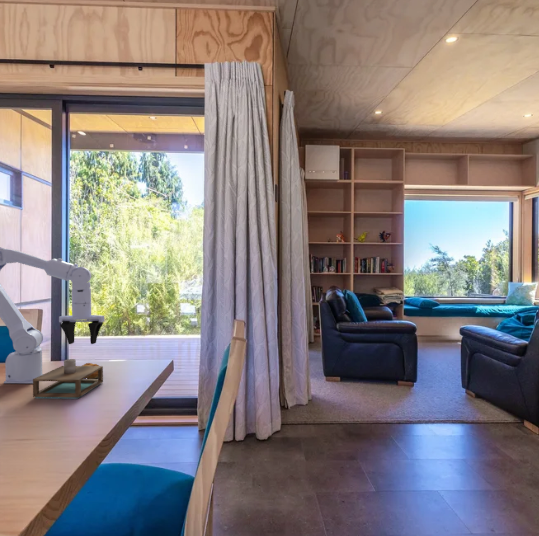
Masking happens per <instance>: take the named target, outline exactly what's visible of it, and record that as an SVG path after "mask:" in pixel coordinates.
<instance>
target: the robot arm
mask: <svg viewBox="0 0 539 536" xmlns="http://www.w3.org/2000/svg"><path fill="white" fill-rule="evenodd" d="M16 263H18V264H21V265H25V266H29V267H33V268H36V269H40V270H44V271H45V273H46V275H47V276H49V277H54V278H56V279H60V280H63V281H66V282H69V281H71V288H72V289H71V315H61V316H58V322H59V323H60V325H59V326H60V328H61V330H62V331H63V333H64V334H65V337H66V339H67V343H68V345H72V344H74V343H75V328H76V324H77V323H88V324H87V325H88V328H89V335H90V337H89V340H90V345H95V344H96V343H97V340H98V335H99V333H100V330H101V328H102V326H103V325H104V322H105V315H97V314H92V289H91V279H92V273H91V272H92V271H91V270H90V269H88V267H85V266H79V264H78V263H74V264H73V263H70V262H66V261H64V259H63V258H52V259H49V260H46V259H44V258H41V257H38V256H36V255H33V254H32V255H31V254H29V253H27V252H23V251H20V250H17V249H15V250H14V249H10V248H4V247H0V272H1V270H2V269H3V268H4V267H5V266H6V265H7V264H16ZM0 319H1V320H2V322H3V323H4V325H5V326H6V327H7V329H8V334H9V337H10V339H11V341H12V347H13V350H15V351H14V352H13V351H12V352H10V353H9V354H8V355H7V357H6V358H5V362H4V363H5V366H4V367H5V381H3V384H33V379H34V378H37V377H39V376H41V375H43V374H44V373H43V348H42V347H41V344H42V343H43V341H44V335H43V333H42V332H41V330H38V329H36V328H35V327H34V326H33V324H32V323H31V322H29V321H28V320H26V318H25V317H24V316H23V314H22V313H21V311H20V310H19V308H18V307H17V306H16V304H15V303H14V301H13V299H12V298H11V297H10V295H9V294H8V292H7V291H6V290H5V288H4V287H3V285H2V284H1V283H0Z"/></svg>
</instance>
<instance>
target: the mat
mask: <svg viewBox="0 0 539 536" xmlns="http://www.w3.org/2000/svg"><path fill="white" fill-rule="evenodd" d="M91 384H93V383H81V391H82V390H83V389H85V388H87V387H88V386H90V385H91ZM98 386H99V385H97V386H96V387H98ZM96 387H94V388H93V389H95V388H96ZM93 389H91V390H90V391H92V390H93ZM90 391H88V392H87V393H89V392H90ZM45 393H75V383H62V384H60V385H58V386H56V387H54V388H52V389H51V390H49V391H47V392H45ZM87 393H85V394H87ZM85 394H84V395H85ZM81 397H82V396H80V397H34V399H55V400H57V399H60V400H61V399H62V400H63V399H64V400H65V399H66V400H67V399H68V400H69V399H73V400H76V399H77V400H78V399H79V398H81Z"/></svg>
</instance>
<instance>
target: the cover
mask: <svg viewBox="0 0 539 536" xmlns="http://www.w3.org/2000/svg"><path fill="white" fill-rule="evenodd" d="M96 371H98V377H97V378H95V379H84V378H86V377H88V376H89V375H91V374H93V373H95V372H96ZM42 374H43V375H41V376H39V377H37V378H34V379H33V383H32V397H33V398H35V397H79V398H81V397H82V396H84V395H85V393H86V394H87V393H89V392H90V391H92V390H93V389H95V388H96V387H98V386H99V385H100V384H102V383H103V382H104V366H103V365H99V366H82V365H77V363H76V358H69V359H64V361H63V365H61V366H58V367H57V368H54V369H52V370H50V371H48V372H46V373H42ZM40 382H54V383H52V384H50V385H47V386H46V387H44V388H41V389H40ZM62 383H75V393H45V392H47V391H49V390H51V389H52V388H54V387H56V386H58V385H60V384H62ZM81 383H93V384H91V385H90V386H88V387H87V388H85V389H83V390H82V391H81ZM97 385H98V386H97ZM94 387H95V388H94ZM91 389H92V390H91ZM88 391H89V392H88ZM80 396H81V397H80Z"/></svg>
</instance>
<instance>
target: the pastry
mask: <svg viewBox="0 0 539 536" xmlns="http://www.w3.org/2000/svg"><path fill="white" fill-rule="evenodd" d="M81 366H100V365H99V364H97V363H92V362H87V363H84V364H83V365H81ZM86 378H87V379H98V371H96V372H95V373H93V374H91V375H89V376H88V377H86Z"/></svg>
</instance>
